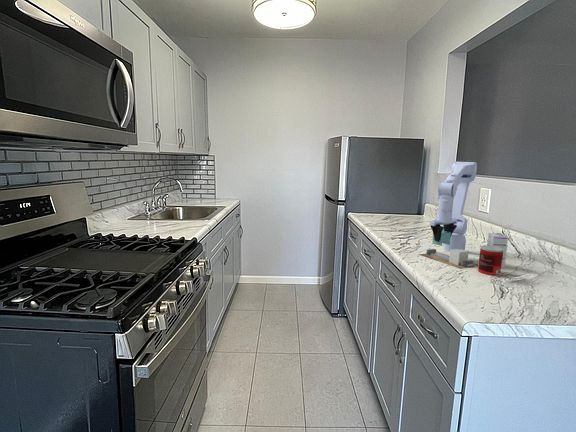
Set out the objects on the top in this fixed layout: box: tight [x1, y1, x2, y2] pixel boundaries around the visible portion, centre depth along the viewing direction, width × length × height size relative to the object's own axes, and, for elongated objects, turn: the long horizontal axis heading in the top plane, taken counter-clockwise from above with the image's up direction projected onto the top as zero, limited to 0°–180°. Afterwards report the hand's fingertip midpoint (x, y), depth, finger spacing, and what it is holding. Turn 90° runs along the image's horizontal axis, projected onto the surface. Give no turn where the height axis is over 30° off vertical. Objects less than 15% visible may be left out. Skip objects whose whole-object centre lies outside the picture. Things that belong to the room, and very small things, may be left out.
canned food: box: [477, 244, 503, 277], centre depth 133 cm, size 8×8×11 cm
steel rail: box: [425, 248, 474, 268], centre depth 149 cm, size 4×21×2 cm, turn 26°
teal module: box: [432, 231, 451, 246], centre depth 151 cm, size 6×4×6 cm
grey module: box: [448, 248, 469, 265], centre depth 144 cm, size 6×4×6 cm
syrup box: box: [487, 232, 509, 269], centre depth 142 cm, size 6×6×14 cm
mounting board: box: [418, 251, 478, 270], centre depth 149 cm, size 12×22×1 cm, turn 26°
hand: (442, 240), depth 151 cm, fingers closed on teal module, 6 cm apart
